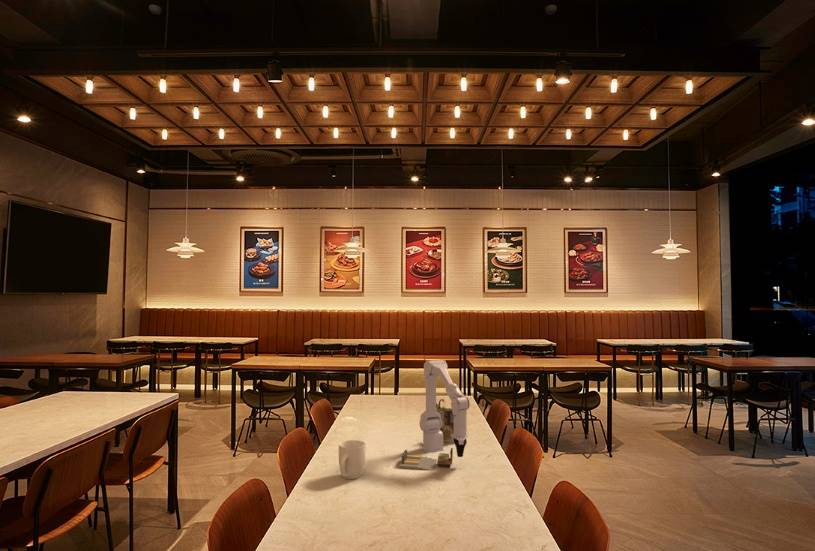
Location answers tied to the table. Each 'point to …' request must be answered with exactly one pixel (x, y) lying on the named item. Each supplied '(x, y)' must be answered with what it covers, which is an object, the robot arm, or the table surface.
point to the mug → (352, 458)
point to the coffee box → (447, 424)
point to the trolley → (445, 458)
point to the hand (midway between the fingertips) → (460, 456)
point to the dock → (417, 462)
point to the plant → (439, 406)
